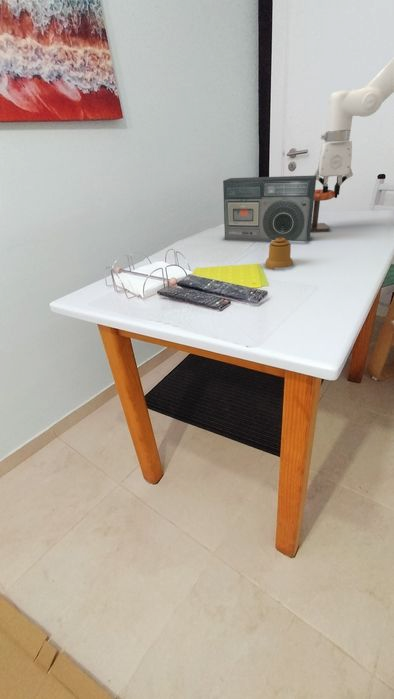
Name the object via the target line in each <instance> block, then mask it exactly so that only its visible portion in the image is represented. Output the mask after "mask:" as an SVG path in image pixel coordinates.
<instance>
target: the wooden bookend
mask: <svg viewBox="0 0 394 699" xmlns="http://www.w3.org/2000/svg"><path fill="white" fill-rule="evenodd" d="M320 205H321V201H314V205H313V214H312V224H311V233H324V232H325V233H326V232H330V228H329V227H328V225H327V223H325V222H319V214H320Z"/></svg>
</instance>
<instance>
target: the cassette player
mask: <svg viewBox="0 0 394 699" xmlns="http://www.w3.org/2000/svg"><path fill="white" fill-rule="evenodd" d="M314 175H315V174H314ZM314 175H288V176H283V175H282V176H261V177H260V176H258V177H257V176H256V177H255V176H254V177H252V176H251V177H230V178H227V179H224V180H222V185H223V186H222V188H223V189H222V190H223V222H224V223H223V225H224V241H239V242H240V241H242V242H260V243H261V242H262V243H263V242H264V243H272V241H274V240H275V239H276V238H285V239H286V240H287V241H289V242H308V240H309V239H310V237H311V233H312V232H311V224H312V218H313V209H314V195H315V190H316V185H317V180H316V176H317V175H315V176H314Z"/></svg>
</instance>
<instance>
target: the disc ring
mask: <svg viewBox="0 0 394 699" xmlns="http://www.w3.org/2000/svg"><path fill="white" fill-rule="evenodd" d="M322 191H323V188H322V189H321V188H319V189H315V195H314V201H320V202H321V201H329V200H332V199H335V192H334V189H333V190H332V189H328V192H327V193H322Z"/></svg>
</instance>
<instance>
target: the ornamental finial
mask: <svg viewBox="0 0 394 699" xmlns="http://www.w3.org/2000/svg"><path fill="white" fill-rule="evenodd" d="M291 250H292V243H290V241H287V240H286V239H285V238H276V239H275V240H271V242H269V248H268V257H267V258H266V260H265V266H266V268H267V269H269V270H276V269H279V268H281V269H282V268H287V267H291V266H292V265H293V264H294V262H293V258H292V257H291ZM275 268H276V269H275Z"/></svg>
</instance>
